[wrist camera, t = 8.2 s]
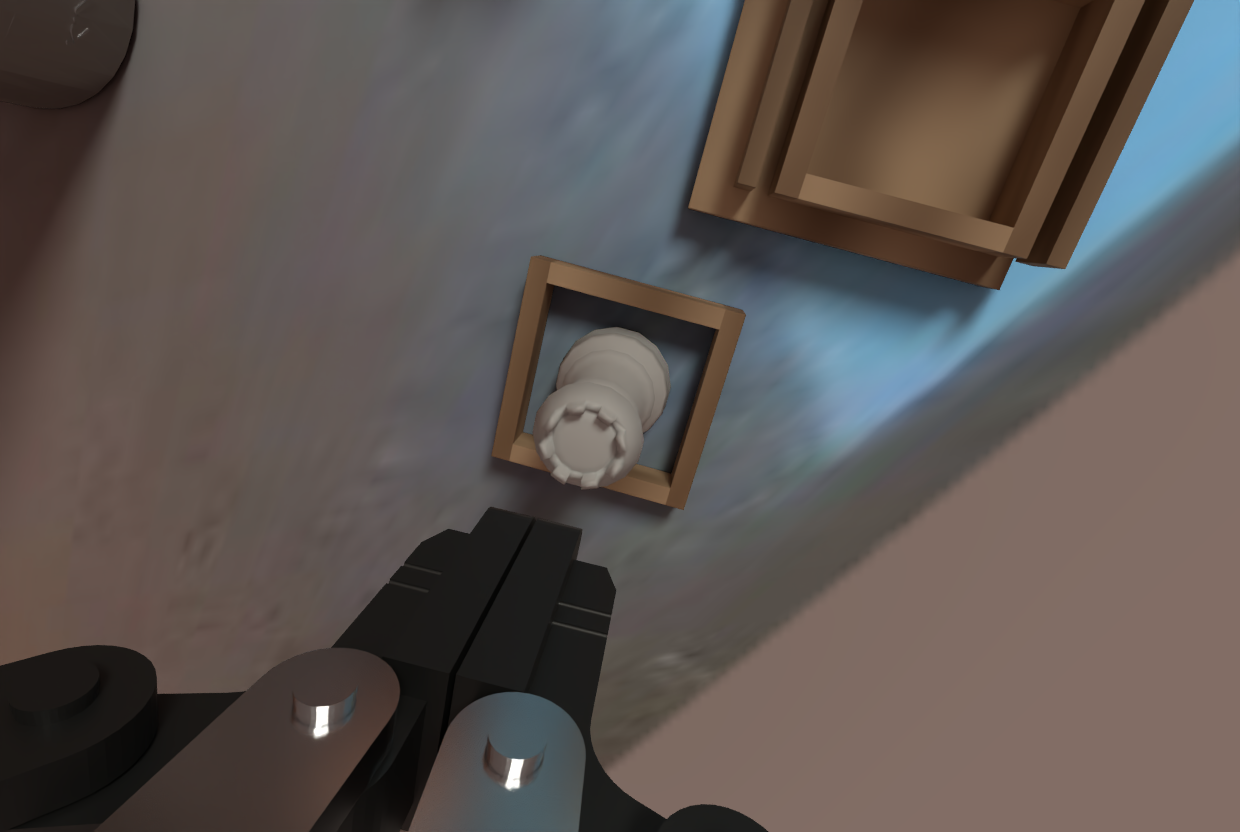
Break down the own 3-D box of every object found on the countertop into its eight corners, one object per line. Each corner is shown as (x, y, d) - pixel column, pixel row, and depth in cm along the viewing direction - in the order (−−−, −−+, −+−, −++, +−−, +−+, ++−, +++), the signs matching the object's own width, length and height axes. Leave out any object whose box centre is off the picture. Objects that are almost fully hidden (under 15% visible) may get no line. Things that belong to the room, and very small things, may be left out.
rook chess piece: (667, 436, 24) (657, 528, 17) (560, 428, 25) (503, 513, 17) (675, 328, 23) (668, 374, 16) (562, 321, 24) (502, 363, 16)
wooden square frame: (502, 443, 25) (491, 455, 24) (540, 255, 23) (531, 256, 21) (683, 494, 25) (683, 510, 24) (742, 309, 23) (746, 315, 21)
